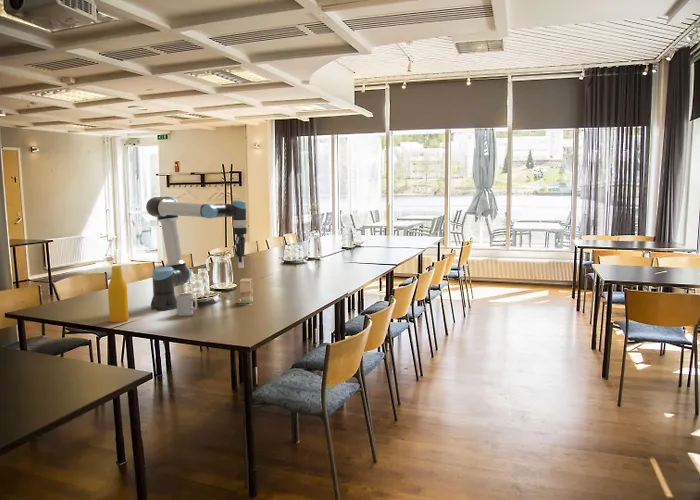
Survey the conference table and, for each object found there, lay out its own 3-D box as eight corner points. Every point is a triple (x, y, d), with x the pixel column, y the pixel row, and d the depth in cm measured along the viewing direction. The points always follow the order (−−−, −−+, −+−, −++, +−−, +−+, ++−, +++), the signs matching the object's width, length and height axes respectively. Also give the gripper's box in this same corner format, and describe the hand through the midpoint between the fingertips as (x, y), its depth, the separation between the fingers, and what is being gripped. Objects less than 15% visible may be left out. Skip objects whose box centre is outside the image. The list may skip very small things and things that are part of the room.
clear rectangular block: (250, 303, 312) (249, 280, 310) (240, 303, 312) (240, 280, 311) (252, 301, 318) (252, 278, 316) (243, 301, 318) (242, 278, 317)
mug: (173, 315, 285) (173, 295, 284) (183, 311, 293) (182, 292, 292) (192, 317, 281) (191, 297, 280) (201, 313, 289) (201, 294, 288)
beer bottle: (127, 322, 271) (124, 267, 267) (108, 323, 268) (105, 268, 264) (129, 317, 279) (127, 264, 276) (111, 319, 277) (108, 265, 273)
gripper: (243, 228, 292) (244, 269, 295) (249, 226, 305) (250, 266, 308) (230, 228, 292) (231, 269, 295) (236, 226, 305) (237, 265, 308)
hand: (241, 267), depth 301 cm, fingers closed
